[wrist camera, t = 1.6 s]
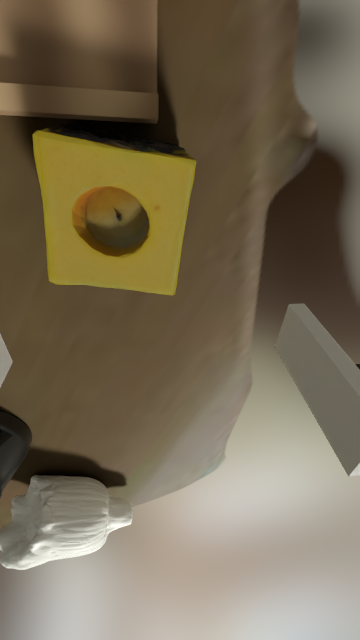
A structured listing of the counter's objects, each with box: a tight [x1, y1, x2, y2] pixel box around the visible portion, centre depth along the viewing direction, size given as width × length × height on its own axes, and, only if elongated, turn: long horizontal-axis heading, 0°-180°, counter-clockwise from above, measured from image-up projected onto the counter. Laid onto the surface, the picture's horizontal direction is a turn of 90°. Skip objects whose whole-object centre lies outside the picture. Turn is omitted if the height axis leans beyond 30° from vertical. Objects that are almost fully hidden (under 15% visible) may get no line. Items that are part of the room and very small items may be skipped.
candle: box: [32, 124, 196, 295], centre depth 24 cm, size 10×10×10 cm
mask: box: [0, 475, 132, 570], centre depth 55 cm, size 14×14×25 cm
